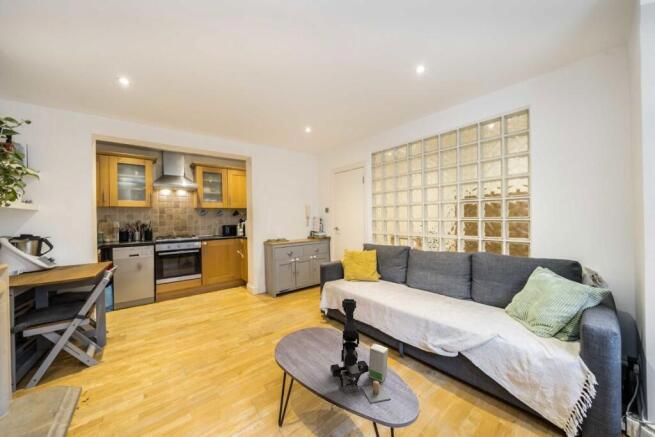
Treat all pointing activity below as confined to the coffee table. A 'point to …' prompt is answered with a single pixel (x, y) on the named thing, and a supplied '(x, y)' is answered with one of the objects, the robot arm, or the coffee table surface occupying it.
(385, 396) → the piston base
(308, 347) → the coffee table surface
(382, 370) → the skincare box
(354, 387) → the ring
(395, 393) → the coffee table surface
